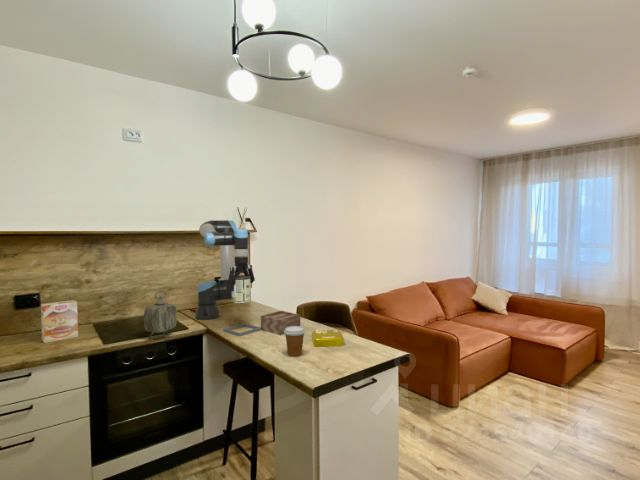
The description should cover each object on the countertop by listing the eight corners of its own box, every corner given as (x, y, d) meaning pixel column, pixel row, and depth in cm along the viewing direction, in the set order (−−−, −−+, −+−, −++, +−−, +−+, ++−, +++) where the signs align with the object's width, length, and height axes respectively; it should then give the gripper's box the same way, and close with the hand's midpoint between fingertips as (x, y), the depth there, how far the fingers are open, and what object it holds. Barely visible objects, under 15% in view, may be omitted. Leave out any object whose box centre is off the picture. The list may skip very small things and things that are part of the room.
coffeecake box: (44, 343, 181) (43, 305, 180) (41, 340, 186) (40, 303, 185) (78, 336, 192) (77, 301, 191) (75, 334, 197) (74, 299, 196)
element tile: (313, 348, 172) (313, 338, 172) (311, 338, 187) (311, 329, 187) (344, 346, 173) (344, 337, 173) (339, 337, 188) (339, 328, 188)
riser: (261, 329, 203) (260, 315, 202) (281, 324, 215) (281, 310, 214) (280, 335, 192) (279, 320, 192) (300, 328, 204) (300, 314, 204)
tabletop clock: (167, 332, 199) (166, 288, 198) (178, 334, 194) (177, 289, 194) (144, 339, 186) (143, 292, 185) (155, 342, 182) (154, 294, 181)
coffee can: (235, 299, 206) (235, 275, 206) (253, 299, 205) (252, 275, 205) (229, 302, 196) (229, 277, 196) (247, 303, 195) (247, 277, 195)
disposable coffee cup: (284, 351, 167) (284, 326, 166) (304, 350, 168) (304, 325, 167) (284, 358, 157) (284, 331, 157) (305, 357, 158) (305, 331, 158)
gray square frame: (223, 331, 200) (223, 328, 200) (244, 325, 212) (244, 323, 212) (239, 336, 190) (239, 333, 190) (260, 330, 202) (260, 327, 202)
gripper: (228, 258, 189) (228, 299, 190) (260, 255, 206) (261, 293, 207) (220, 257, 194) (220, 297, 195) (252, 254, 211) (253, 291, 212)
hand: (241, 295), depth 201 cm, fingers closed on coffee can, 10 cm apart
